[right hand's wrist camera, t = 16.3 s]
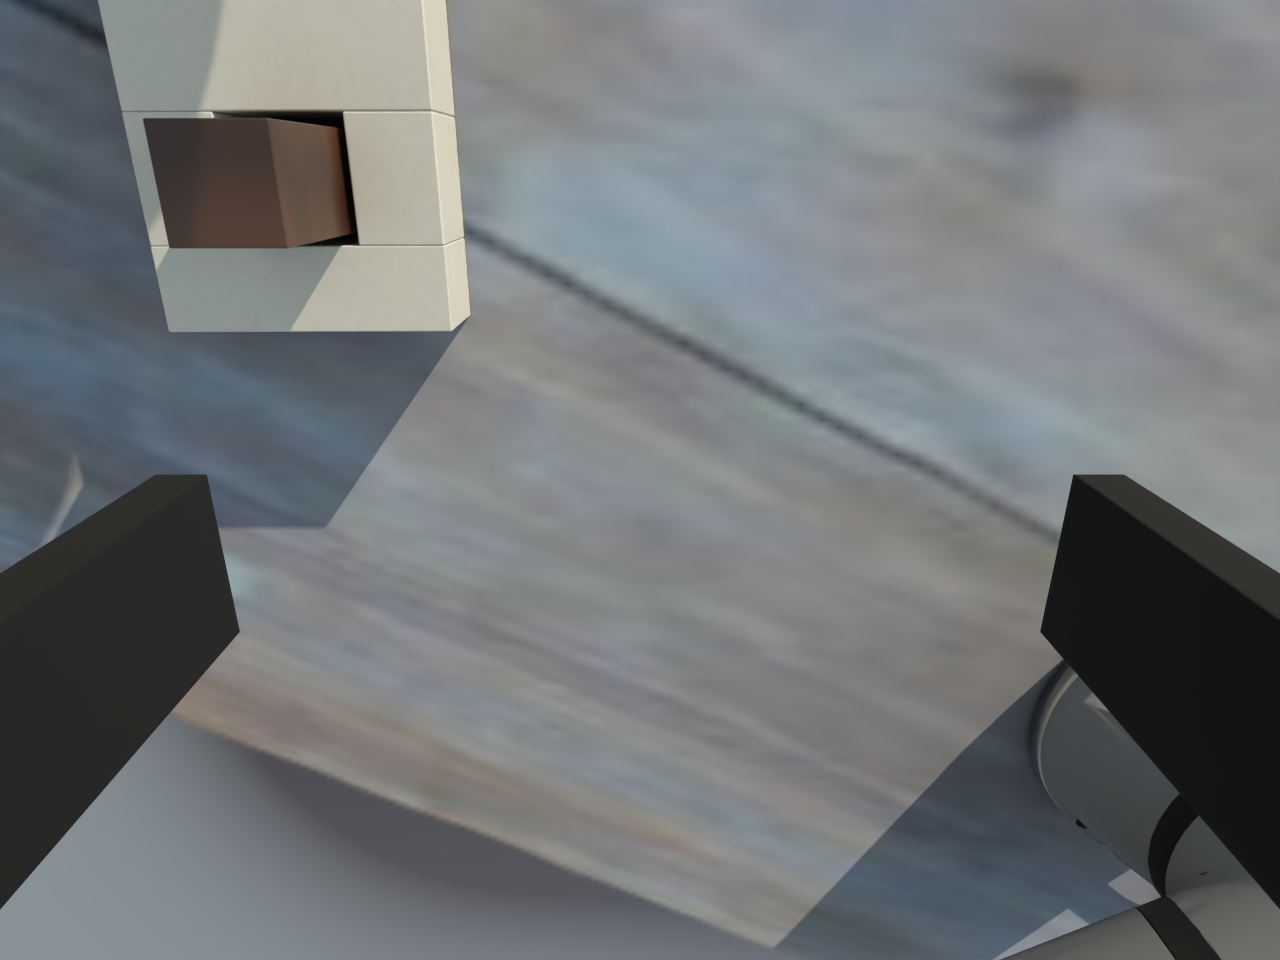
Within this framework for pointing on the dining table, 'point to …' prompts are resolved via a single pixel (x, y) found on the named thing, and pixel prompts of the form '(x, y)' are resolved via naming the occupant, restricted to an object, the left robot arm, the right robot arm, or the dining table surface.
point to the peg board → (308, 87)
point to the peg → (250, 182)
